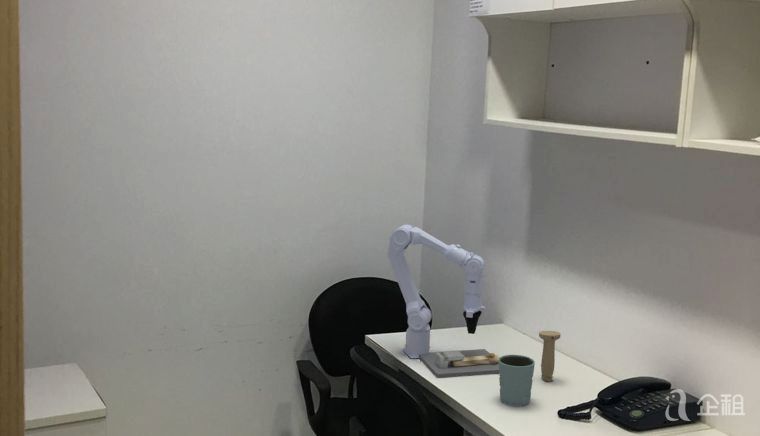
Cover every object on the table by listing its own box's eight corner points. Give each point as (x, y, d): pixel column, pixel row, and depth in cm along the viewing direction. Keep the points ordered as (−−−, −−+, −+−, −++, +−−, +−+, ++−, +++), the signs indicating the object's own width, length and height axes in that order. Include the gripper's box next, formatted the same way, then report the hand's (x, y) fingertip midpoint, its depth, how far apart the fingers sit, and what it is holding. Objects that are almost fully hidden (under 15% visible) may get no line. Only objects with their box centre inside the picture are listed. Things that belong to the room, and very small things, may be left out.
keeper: (458, 361, 242) (458, 351, 242) (464, 367, 237) (464, 356, 237) (435, 363, 240) (435, 352, 240) (440, 368, 235) (440, 357, 235)
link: (494, 358, 245) (495, 351, 245) (501, 363, 241) (501, 355, 241) (449, 362, 240) (449, 355, 240) (454, 367, 236) (455, 359, 236)
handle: (559, 382, 230) (562, 335, 227) (539, 383, 229) (542, 335, 226) (553, 376, 234) (556, 330, 232) (534, 377, 233) (537, 330, 231)
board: (417, 356, 250) (417, 353, 250) (484, 352, 256) (484, 348, 256) (437, 377, 231) (437, 374, 230) (509, 372, 237) (509, 369, 237)
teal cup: (539, 403, 213) (542, 362, 211) (513, 410, 208) (515, 368, 206) (515, 391, 222) (517, 352, 220) (489, 397, 216) (491, 357, 214)
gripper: (482, 299, 236) (480, 340, 238) (488, 288, 250) (486, 328, 252) (460, 297, 238) (458, 338, 240) (467, 286, 251) (465, 326, 253)
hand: (471, 333), depth 246 cm, fingers closed
